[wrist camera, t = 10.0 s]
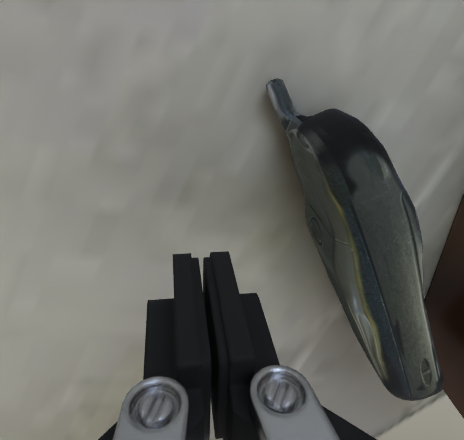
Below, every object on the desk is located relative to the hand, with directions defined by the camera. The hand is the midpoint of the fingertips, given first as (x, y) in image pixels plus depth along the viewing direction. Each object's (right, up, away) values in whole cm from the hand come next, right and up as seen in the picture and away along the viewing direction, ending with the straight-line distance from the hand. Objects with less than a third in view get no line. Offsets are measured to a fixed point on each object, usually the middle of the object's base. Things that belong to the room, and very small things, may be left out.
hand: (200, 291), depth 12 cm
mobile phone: (+6, +2, +6) cm, 9 cm away
